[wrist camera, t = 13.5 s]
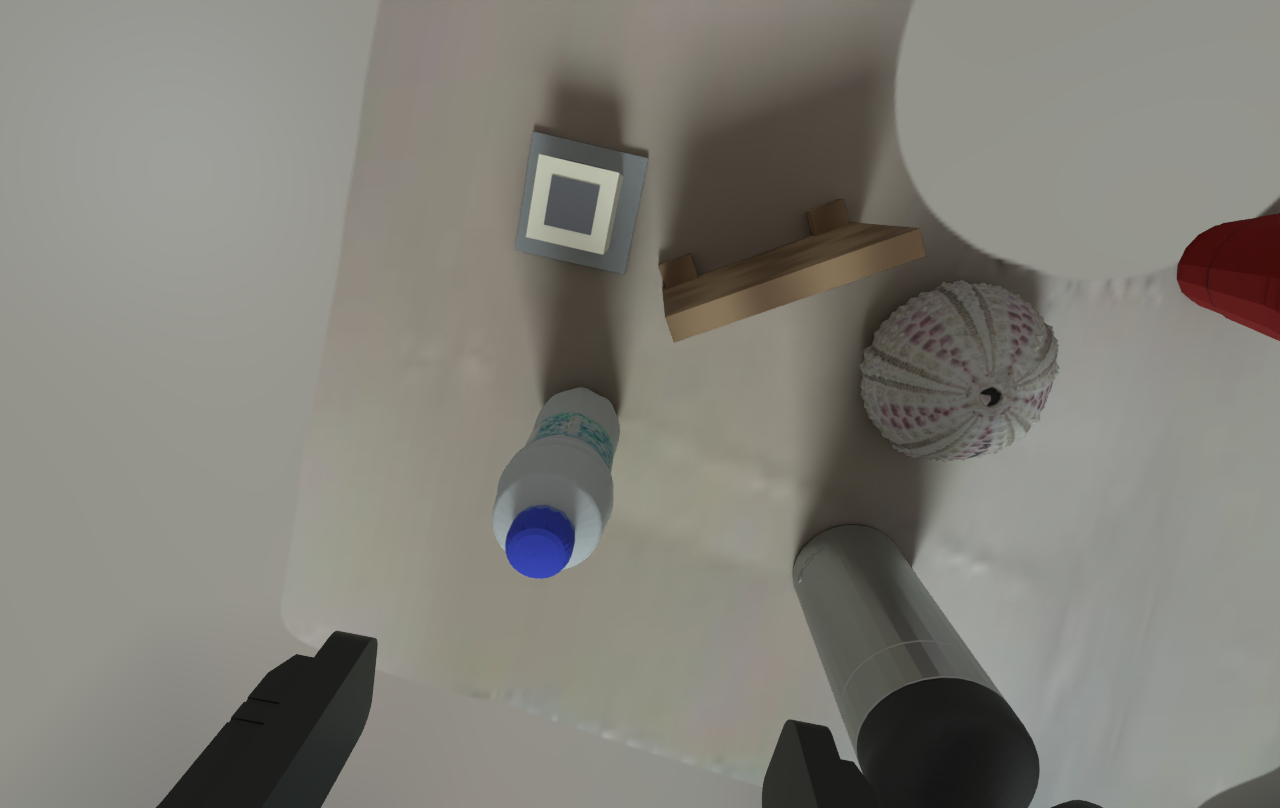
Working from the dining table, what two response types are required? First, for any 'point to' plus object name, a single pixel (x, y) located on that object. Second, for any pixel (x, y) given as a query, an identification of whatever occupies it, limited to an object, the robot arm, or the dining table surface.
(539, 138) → the slate coaster
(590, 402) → the bottle
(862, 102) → the dining table surface
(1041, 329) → the sea urchin shell
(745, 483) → the dining table surface
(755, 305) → the walnut screen
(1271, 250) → the plastic cup
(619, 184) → the white marker cube
